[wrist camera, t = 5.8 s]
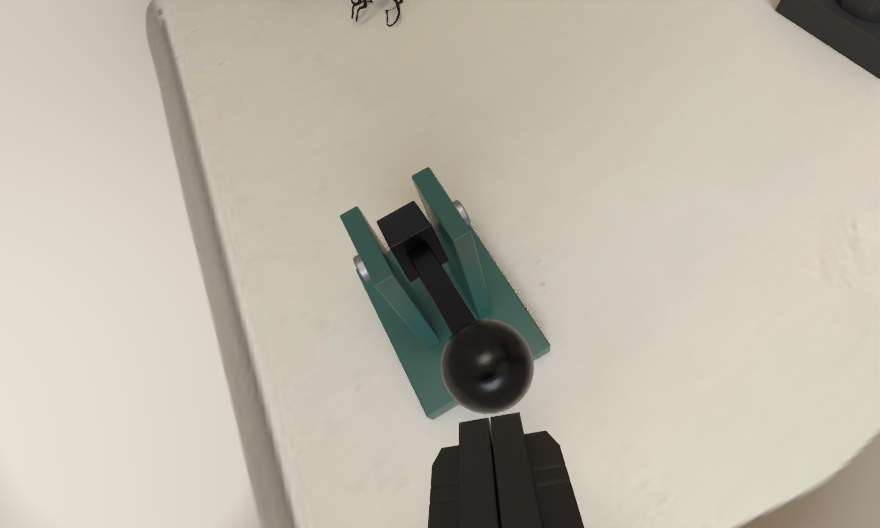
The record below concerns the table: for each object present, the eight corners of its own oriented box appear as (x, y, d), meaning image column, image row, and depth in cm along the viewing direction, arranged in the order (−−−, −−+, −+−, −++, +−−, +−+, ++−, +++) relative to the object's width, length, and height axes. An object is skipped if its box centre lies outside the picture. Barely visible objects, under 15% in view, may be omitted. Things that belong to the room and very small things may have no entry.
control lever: (560, 400, 16) (539, 345, 14) (479, 448, 15) (446, 399, 13) (441, 235, 25) (419, 188, 23) (390, 264, 25) (363, 219, 23)
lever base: (550, 351, 30) (559, 275, 19) (431, 420, 30) (367, 385, 18) (463, 220, 36) (429, 99, 24) (362, 276, 35) (279, 181, 24)
